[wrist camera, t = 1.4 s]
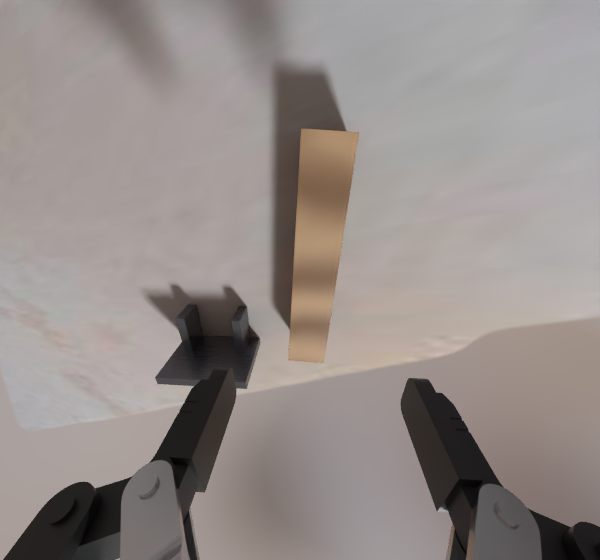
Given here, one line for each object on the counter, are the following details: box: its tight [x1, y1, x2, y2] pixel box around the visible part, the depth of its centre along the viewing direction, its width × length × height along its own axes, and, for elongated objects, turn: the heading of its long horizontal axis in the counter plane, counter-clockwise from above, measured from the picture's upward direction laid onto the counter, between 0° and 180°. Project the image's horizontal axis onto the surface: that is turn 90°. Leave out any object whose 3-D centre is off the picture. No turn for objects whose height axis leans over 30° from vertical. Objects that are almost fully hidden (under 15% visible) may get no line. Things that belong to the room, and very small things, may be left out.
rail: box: [288, 128, 359, 363], centre depth 23 cm, size 22×4×5 cm, turn 176°
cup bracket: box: [155, 304, 260, 389], centre depth 27 cm, size 6×10×7 cm, turn 89°
